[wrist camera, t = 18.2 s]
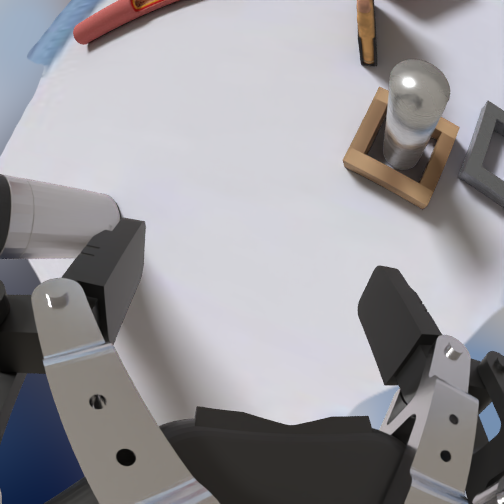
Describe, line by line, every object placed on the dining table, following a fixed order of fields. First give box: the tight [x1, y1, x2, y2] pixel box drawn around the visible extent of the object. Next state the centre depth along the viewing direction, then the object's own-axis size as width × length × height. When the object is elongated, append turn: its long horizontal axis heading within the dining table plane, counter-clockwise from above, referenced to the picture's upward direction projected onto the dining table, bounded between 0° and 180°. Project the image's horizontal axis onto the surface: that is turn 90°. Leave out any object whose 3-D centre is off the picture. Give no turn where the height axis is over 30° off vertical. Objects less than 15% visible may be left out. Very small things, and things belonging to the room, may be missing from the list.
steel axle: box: [383, 59, 450, 170], centre depth 22 cm, size 4×4×14 cm
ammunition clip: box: [357, 0, 377, 66], centre depth 24 cm, size 11×2×12 cm, turn 171°
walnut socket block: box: [343, 87, 460, 209], centre depth 28 cm, size 9×9×2 cm
